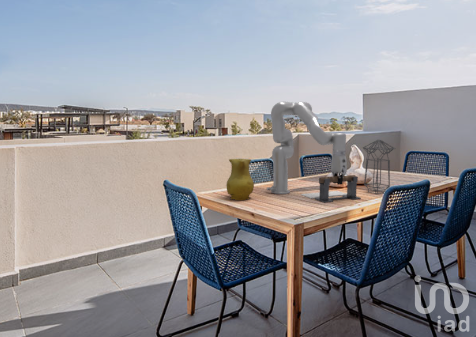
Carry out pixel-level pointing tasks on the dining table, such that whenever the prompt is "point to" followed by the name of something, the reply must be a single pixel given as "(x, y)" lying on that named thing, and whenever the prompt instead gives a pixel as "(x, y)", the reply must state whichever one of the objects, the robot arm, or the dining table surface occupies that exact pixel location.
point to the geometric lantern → (377, 164)
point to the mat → (317, 195)
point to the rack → (350, 195)
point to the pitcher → (240, 180)
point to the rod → (335, 178)
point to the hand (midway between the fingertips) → (337, 183)
